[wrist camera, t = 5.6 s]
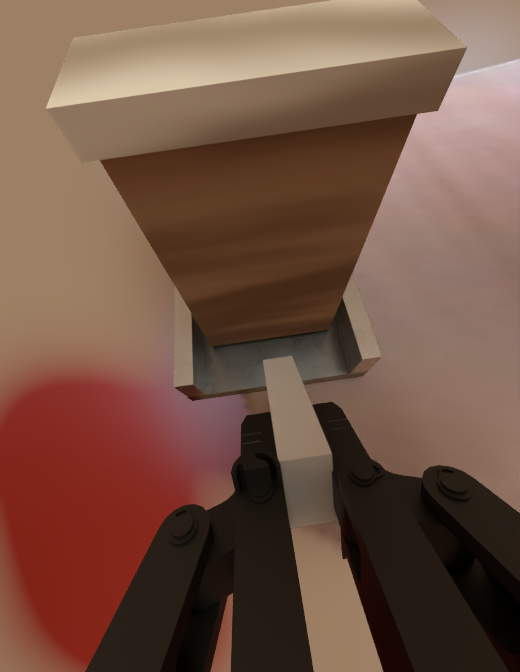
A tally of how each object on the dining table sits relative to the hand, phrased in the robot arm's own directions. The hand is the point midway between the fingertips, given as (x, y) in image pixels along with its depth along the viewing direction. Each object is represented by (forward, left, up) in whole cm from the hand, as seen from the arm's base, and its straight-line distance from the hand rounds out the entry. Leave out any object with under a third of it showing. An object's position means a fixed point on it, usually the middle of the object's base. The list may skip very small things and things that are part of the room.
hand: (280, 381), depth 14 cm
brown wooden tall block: (-5, -4, -5) cm, 8 cm away
